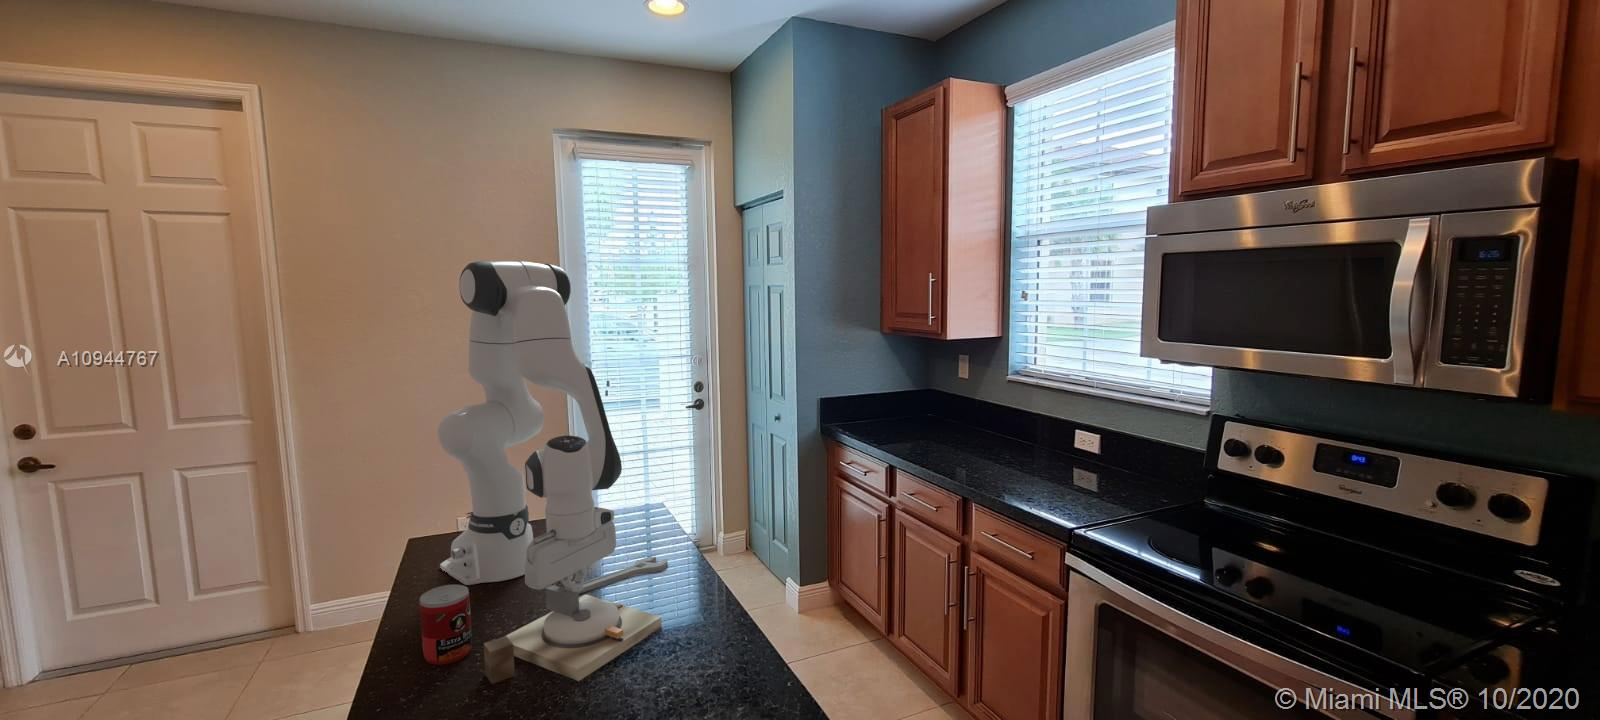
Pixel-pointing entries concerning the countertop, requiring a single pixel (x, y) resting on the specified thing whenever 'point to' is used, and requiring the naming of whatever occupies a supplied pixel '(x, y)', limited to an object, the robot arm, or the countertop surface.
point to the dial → (578, 618)
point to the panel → (583, 656)
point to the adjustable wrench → (626, 573)
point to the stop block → (499, 659)
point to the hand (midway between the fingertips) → (574, 592)
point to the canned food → (446, 624)
